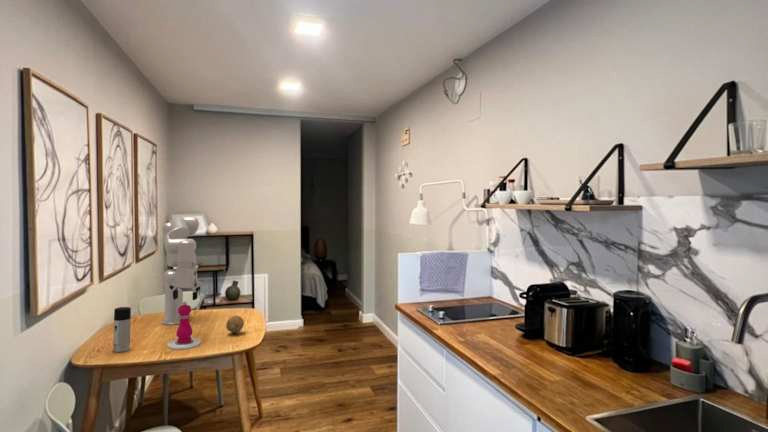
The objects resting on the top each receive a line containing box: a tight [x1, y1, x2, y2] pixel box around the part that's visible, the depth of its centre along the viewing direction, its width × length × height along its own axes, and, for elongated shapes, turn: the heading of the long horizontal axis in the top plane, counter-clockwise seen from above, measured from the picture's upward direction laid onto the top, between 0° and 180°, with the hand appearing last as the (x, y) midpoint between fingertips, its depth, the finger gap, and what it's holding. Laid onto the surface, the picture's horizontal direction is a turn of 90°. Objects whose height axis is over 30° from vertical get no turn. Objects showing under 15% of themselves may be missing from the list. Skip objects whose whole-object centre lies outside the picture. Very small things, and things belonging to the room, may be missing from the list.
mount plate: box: [167, 337, 202, 351], centre depth 202 cm, size 15×15×1 cm
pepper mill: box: [176, 301, 193, 344], centre depth 202 cm, size 7×7×20 cm
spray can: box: [112, 306, 132, 353], centre depth 192 cm, size 7×7×20 cm
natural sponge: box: [225, 315, 245, 334], centre depth 221 cm, size 9×9×10 cm
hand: (185, 299), depth 202 cm, fingers open, 9 cm apart
